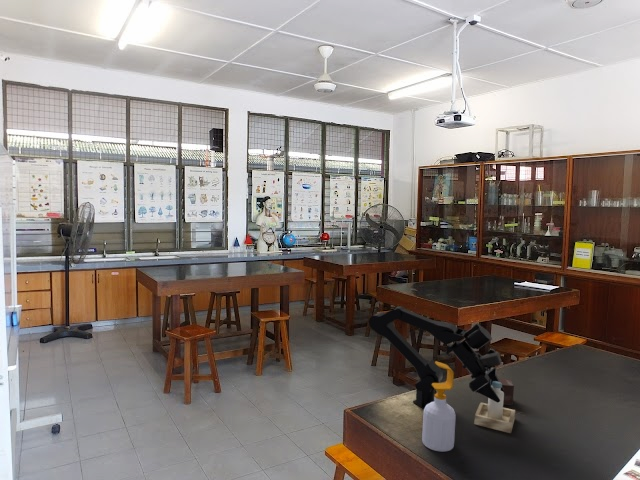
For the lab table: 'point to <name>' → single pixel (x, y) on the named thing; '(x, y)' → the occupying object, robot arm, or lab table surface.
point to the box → (507, 391)
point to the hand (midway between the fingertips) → (501, 396)
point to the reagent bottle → (493, 407)
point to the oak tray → (493, 423)
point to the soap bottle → (439, 417)
